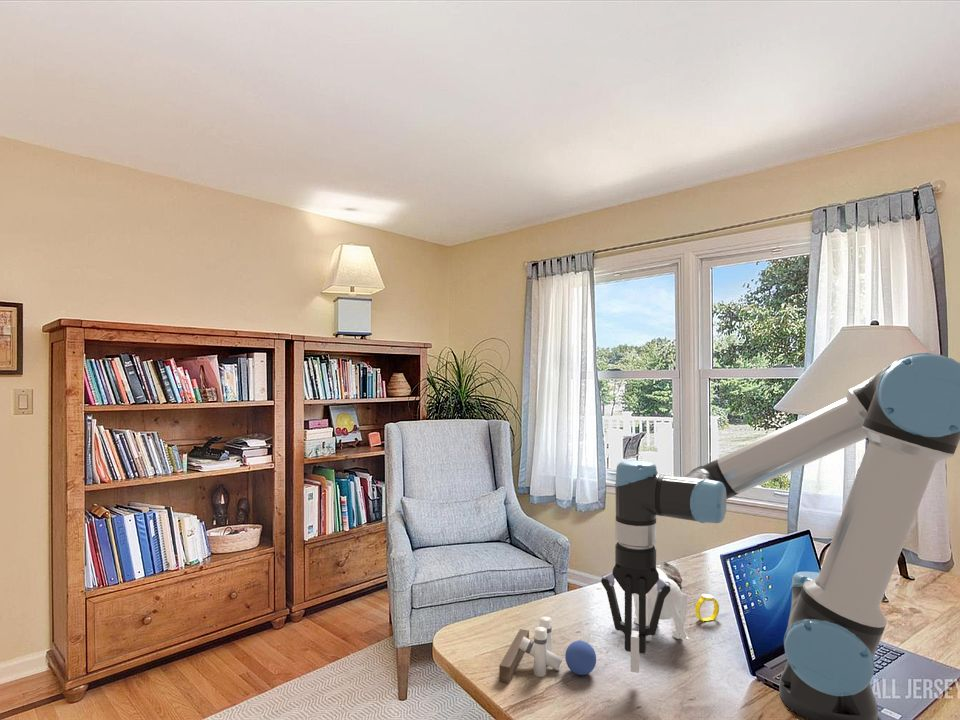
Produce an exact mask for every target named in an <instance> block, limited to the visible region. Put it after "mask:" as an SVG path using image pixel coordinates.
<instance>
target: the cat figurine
mask: <svg viewBox="0 0 960 720" xmlns="http://www.w3.org/2000/svg"><path fill="white" fill-rule="evenodd" d="M657 566H658V565H657V562H656V569H657V572H658V574H659V578H661V579H662V580H663V581H665V582H669V583H670V592H669V593H668V595H667V596H666V597H665V599H664V603H663V607H662V610H661V614H660V618H659V620H662V621H663V620H665V621H666V620H670V619H673V621H674V626H675V627H674V628H675V630H673V631H672V632H671V633H672V634H671V636H672V637H673V638H675V639H678V640H679V639H684V640H686V641H688V640H689V639H690V638H689V636H688V634H687V632H686V630H685V622H686V617H687V609H688V607H687V606H688V594H686V593H684V592H682V590H681V588H679V586H678V585H677V584H676V583H675V582H674V581H673V580H671V579H669V578H668V577H667V575H666V574H665V573H664V572H663V571H662V570H660V569H658V568H657ZM657 594H658V591H657V583H656V584H655V585H654V586H653V587H652V589H651V590H650V591H649V592H648V593H647V594H646V626H647V625H650V621H651V617H652V613H653V609H654V605H655V602H656V598H657ZM632 598H633V603H634V609H635V610H634V615H635V617H633V622H634V624H637V625H639V595H638V594H636V593H634V594H632ZM658 625H660V621H659V622H658ZM652 639H653V635H648V636H646V642H650V641H652Z"/></svg>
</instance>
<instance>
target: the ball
mask: <svg viewBox="0 0 960 720" xmlns="http://www.w3.org/2000/svg"><path fill="white" fill-rule="evenodd" d="M564 658H565V663H566V665H567V667H568V668H569V669H570V671H571V672H572V673H573V674H575V675H578V676H585V675H589V674H591V672H593V670H594V668H596V664H597V654H596V652H595V649H594V648H593V646H592V645H591V644H589V643H588V642H587V641H584V640H575V641H573V642H571V643H570V644H569V645H568V646H567V648H566V650H565V654H564ZM569 669H568V670H569Z"/></svg>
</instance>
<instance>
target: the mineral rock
mask: <svg viewBox="0 0 960 720" xmlns="http://www.w3.org/2000/svg"><path fill="white" fill-rule="evenodd" d="M657 568H658V569H660V570H662V571H663V572H664V573H665V574H666V575H667V577H668V578H669V579H671V580H673V581H674V582H675V583H676V584H677V585H678V586H679V588H680V587H681V585H682V583H683V579H682V577H681V573H680V572H679V569H678V568H677V567H676V566H674V565H673V564H671V563H669V562H665V561H663V562H662V563H661V564H660V565H659V566H658V565H657ZM680 589H681V588H680Z"/></svg>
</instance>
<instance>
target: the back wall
mask: <svg viewBox="0 0 960 720" xmlns="http://www.w3.org/2000/svg"><path fill="white" fill-rule="evenodd" d="M523 637H526V638H528V639H529V640H530V630H528V629H522V628H520V629H519V631H518V632H517V634H516V636H515V637H514V639H513V641H512V643H511V644H510V646H509V648H508V650H507V651H506V653H505V655H504V657H503V659H502V660H501V662H500V664H499V672H498V674H499V676H498V677H499V678H498V680H499V681H498V682H500V683H505V684H510V683H511V681H512V679H513V677H514V675H515V673H516V671H517V670H518V668H519V665H520V663H521V661H522V660H523V657H524V655H525V653H526V652H524V651H523V650H521V649H519V646H520V644H521V641H522V639H523Z"/></svg>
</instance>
